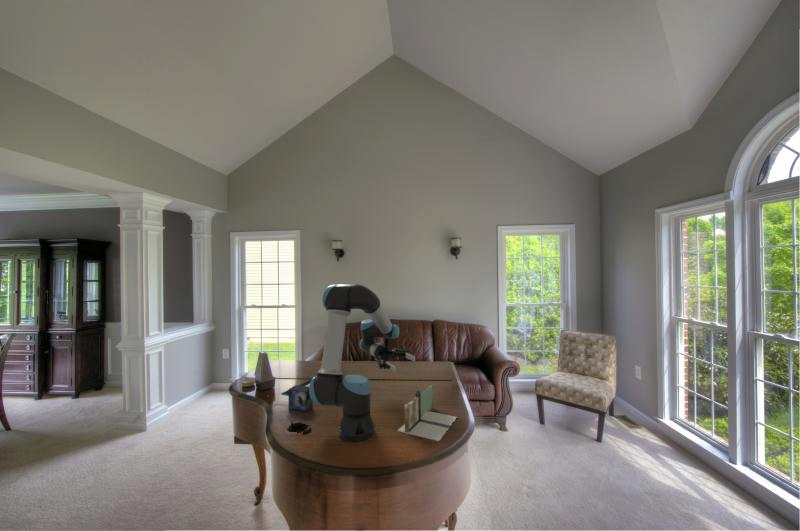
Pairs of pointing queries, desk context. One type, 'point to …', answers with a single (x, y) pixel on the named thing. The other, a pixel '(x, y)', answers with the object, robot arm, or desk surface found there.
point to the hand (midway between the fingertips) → (405, 364)
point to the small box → (300, 398)
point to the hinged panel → (426, 400)
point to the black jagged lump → (298, 427)
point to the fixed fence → (412, 412)
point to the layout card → (431, 426)
